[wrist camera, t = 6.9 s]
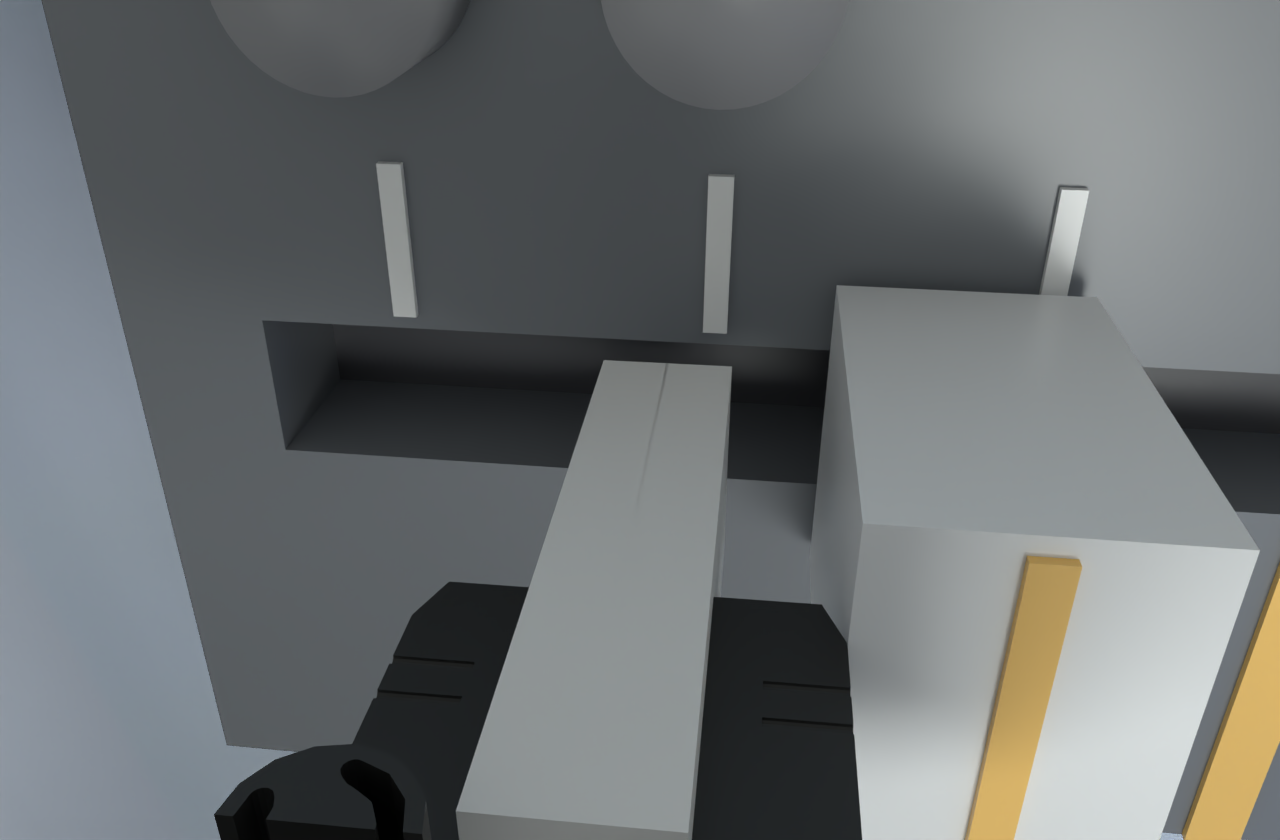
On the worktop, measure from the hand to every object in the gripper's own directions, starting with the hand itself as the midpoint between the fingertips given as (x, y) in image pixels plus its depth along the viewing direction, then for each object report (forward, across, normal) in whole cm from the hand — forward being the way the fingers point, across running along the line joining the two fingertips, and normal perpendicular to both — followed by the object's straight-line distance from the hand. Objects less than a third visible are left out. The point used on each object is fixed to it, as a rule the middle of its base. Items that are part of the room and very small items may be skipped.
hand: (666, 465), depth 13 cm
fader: (+3, +3, 0) cm, 5 cm away
